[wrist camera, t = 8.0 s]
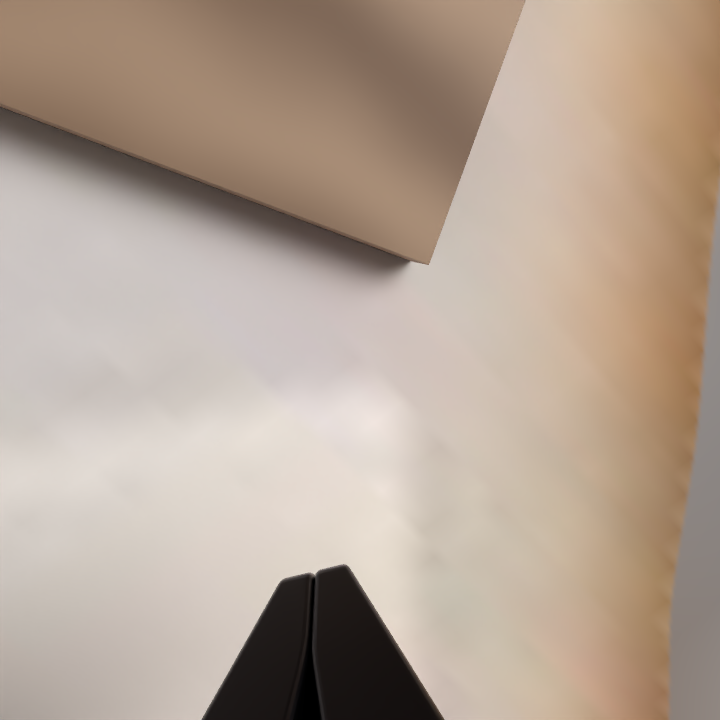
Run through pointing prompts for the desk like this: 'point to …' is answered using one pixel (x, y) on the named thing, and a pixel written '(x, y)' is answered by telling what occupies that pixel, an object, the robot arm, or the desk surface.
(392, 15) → the lock plate
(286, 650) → the robot arm
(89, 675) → the desk surface
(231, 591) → the desk surface
